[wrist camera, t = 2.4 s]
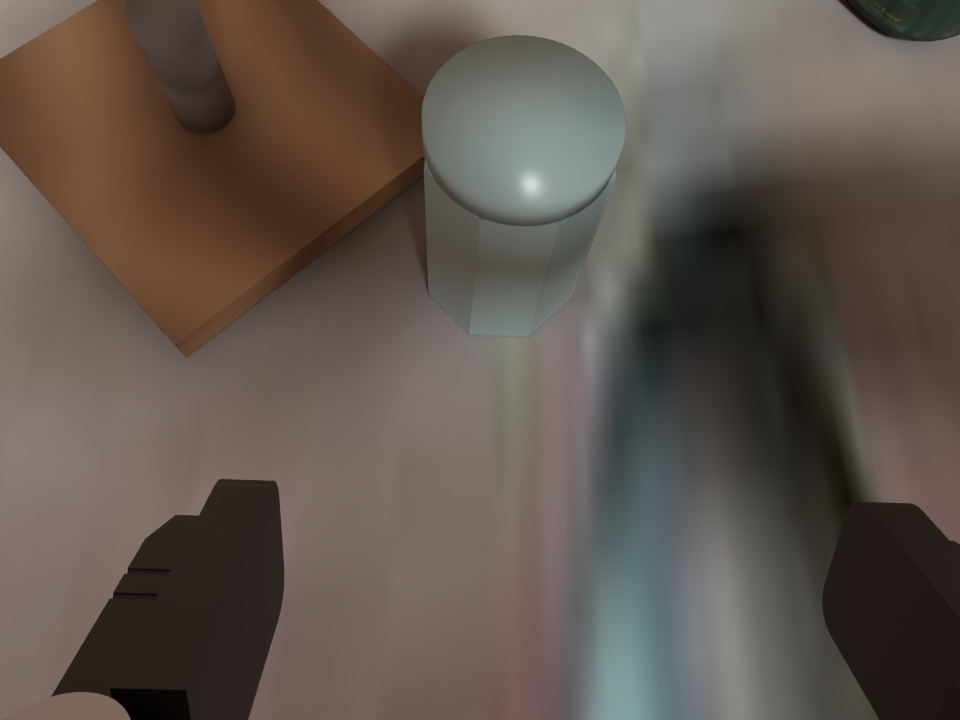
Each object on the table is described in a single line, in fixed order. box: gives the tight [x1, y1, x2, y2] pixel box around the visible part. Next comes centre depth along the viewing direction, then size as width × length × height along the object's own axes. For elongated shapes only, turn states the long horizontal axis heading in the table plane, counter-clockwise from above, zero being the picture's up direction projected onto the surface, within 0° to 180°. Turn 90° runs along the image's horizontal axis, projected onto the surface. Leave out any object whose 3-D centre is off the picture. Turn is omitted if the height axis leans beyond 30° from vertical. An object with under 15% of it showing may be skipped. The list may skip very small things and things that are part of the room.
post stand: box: [0, 0, 425, 357], centre depth 27 cm, size 13×14×6 cm
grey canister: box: [422, 35, 626, 337], centre depth 25 cm, size 5×5×9 cm
